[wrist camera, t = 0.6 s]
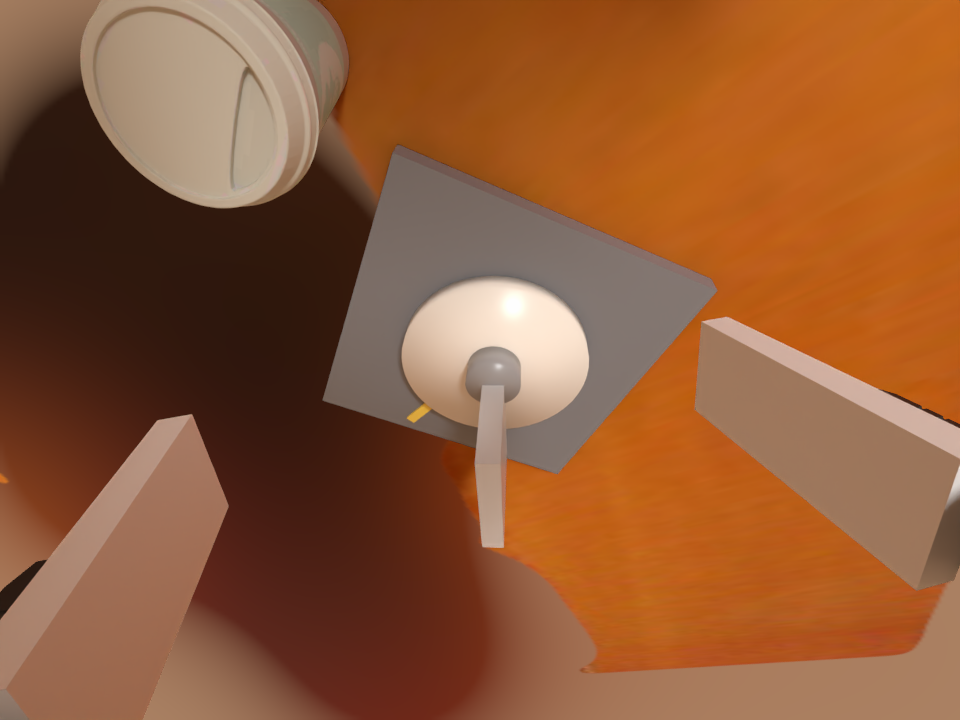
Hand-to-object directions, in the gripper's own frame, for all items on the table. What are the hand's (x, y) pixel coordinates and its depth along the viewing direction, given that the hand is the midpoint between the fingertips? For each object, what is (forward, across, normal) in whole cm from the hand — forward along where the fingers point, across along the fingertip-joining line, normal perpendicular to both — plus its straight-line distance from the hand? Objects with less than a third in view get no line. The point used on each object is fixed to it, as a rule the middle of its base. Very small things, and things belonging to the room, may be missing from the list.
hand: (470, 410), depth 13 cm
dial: (+24, +5, -11) cm, 27 cm away
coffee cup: (+22, -4, +12) cm, 26 cm away
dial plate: (+25, +6, -9) cm, 27 cm away
